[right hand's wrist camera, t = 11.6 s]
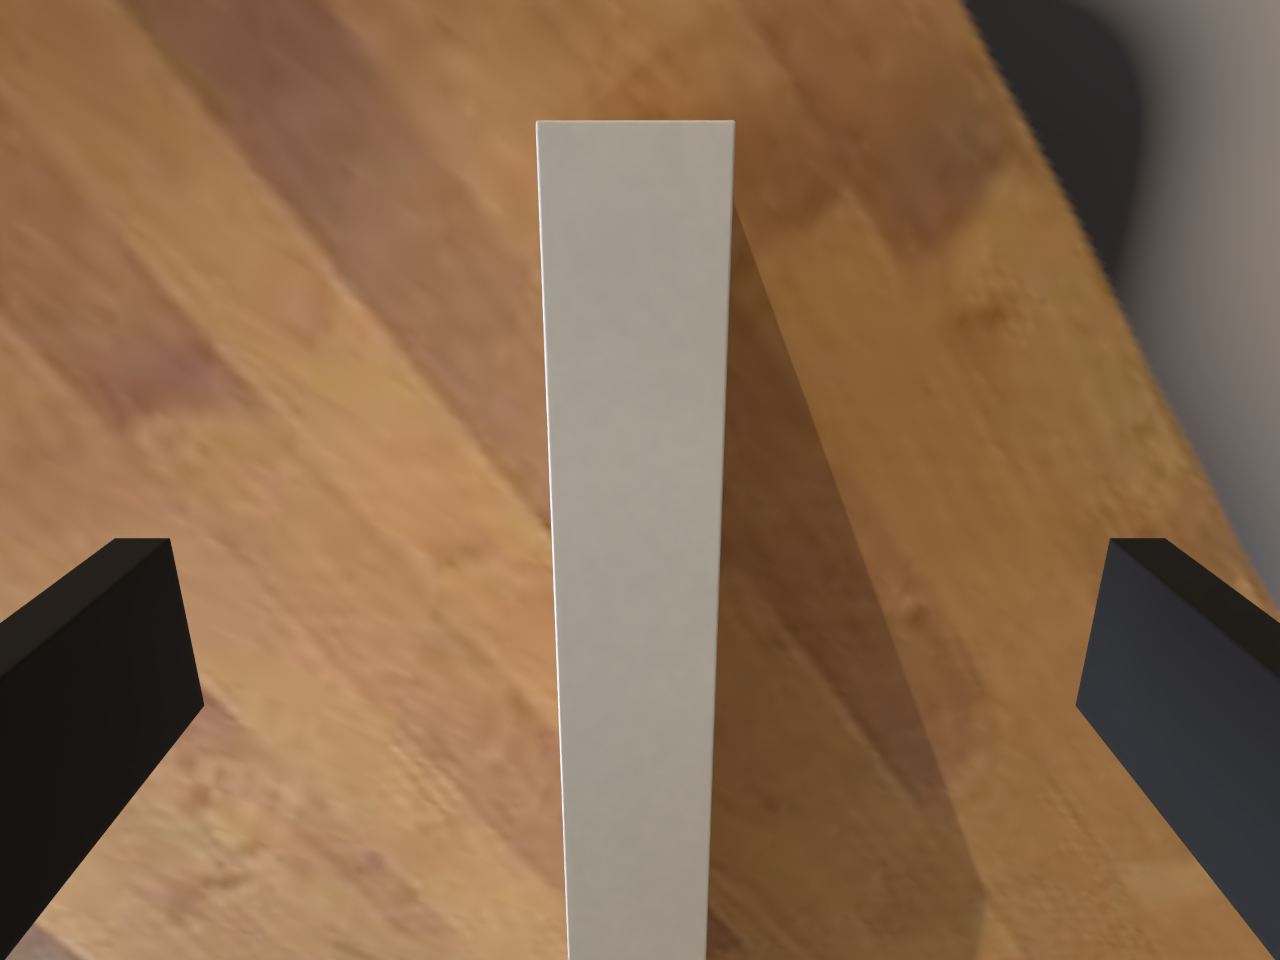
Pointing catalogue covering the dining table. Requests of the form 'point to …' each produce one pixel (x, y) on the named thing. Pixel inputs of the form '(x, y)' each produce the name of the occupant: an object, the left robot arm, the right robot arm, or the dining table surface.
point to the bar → (636, 514)
